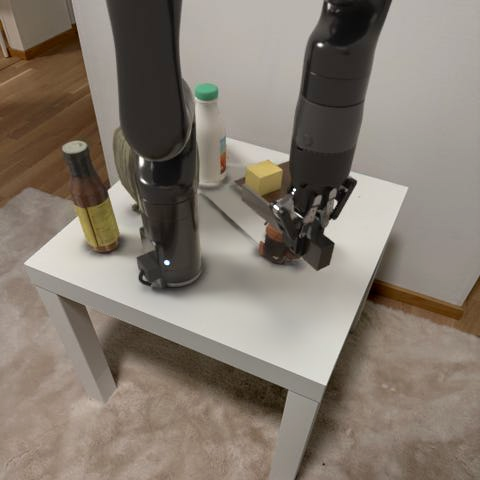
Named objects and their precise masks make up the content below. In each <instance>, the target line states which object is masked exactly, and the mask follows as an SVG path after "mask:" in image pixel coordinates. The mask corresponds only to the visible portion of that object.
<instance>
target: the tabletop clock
mask: <svg viewBox="0 0 480 480" xmlns="http://www.w3.org/2000/svg"><path fill="white" fill-rule="evenodd" d="M196 142H197V140H196ZM112 152H113V161H114V167H115V170H116V173H117V175H118V179H119V182H120V183H121V185H122V186H123V188H124V189H125V190H126V192H127V193H128V194H129V195H130V197H131V198H132V199H133V201H135V203H133V204H132V205H131V210H132V211H133V212H138V211H140V205H139V200H138V194H137V188H136V183H135V152H134V151H133V150H132V148H131V147H130V146H129V145H128V143H127V141H126V140H125V138H124V136H123V133H122V130H121V127H120V125H119V126H118V127H116V128H115V129H113V134H112ZM199 168H200V159H199V151H198V144H197V191H199V187H200V186H199V185H200V182H199Z"/></svg>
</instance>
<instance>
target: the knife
mask: <svg viewBox="0 0 480 480" xmlns="http://www.w3.org/2000/svg"><path fill="white" fill-rule="evenodd" d="M241 201H242V202H243V203H244V204H245V205H246V206H247V207H249V208H250V209H251V210H252V211H253V212H255V213H256V215H258V216H260V218H262V219H263V220H264V221H265V222H268V224H270V225H271V226H272V227H274V228H275V229H276V230H277V231H278V232H279V233H281V234H282V241H283V242H284V243H285V244H286V245H287V246H288V247H289V244H290V238H289V237H288V236H287V235H286V234H285V233H284V232H282V231H281V230H280V229H279V227H278V225H277V223H276V221H275V219H274V217H273V215H272V213H271V211H270V208H269V204H270V203H269V202H267V201H266V200H265V199H264V198H262V197H261V196H260V195H259V194H258V193H256V192H255V191H254V190H253V189H251V188H250V187H249V186H248V185H246V184H245V183H244V184H242V188H241ZM298 224H299V225H300V226H301V222H300V221H299V223H298ZM306 236H307V240H306V245H305V251H304V255H303V256H301V258H300V259H302V260H303V261H304V262H306V263H307V264H308V265H309V266H310V267H311V268H313V269H314V270H315V271H316V272H319V271H321V270H323V269H325V268H327V267H328V266H330V265H331V261H332V257H333V253H334V249H335V245H336V243H335V242H334V241H333V240H332V239H330V238H329V237H328V236H327V235H325V233H324V234H323V233H321V232H320V231H319V230H317V229H316V228H315V227H314V226H312V225H311V224H310V225H309V229H308V232H307V235H306Z"/></svg>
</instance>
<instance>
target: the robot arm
mask: <svg viewBox="0 0 480 480" xmlns="http://www.w3.org/2000/svg"><path fill="white" fill-rule="evenodd" d="M392 3H393V0H323V1H322V6H321V12H320V15H319V19H318V21H317V23H316V25H315V27H314V28H313V29H312V31H311V33H310V35H309V37H308V39H307V41H306V45H305V48H304V54H303V60H302V61H303V62H302V71H301V78H300V85H299V92H298V97H297V101H296V104H295V110H294V116H293V123H292V124H293V125H292V133H291V142H290V149H289V157H288V161H289V170H290V174H291V182H290V184H289V186H288V188H287V195H286V196H285V197H284V198H282V199H280V200H279V201H278V200H277V201H275V200H273V201H272V202H271V203H270V204H269V208H270V211H271V213H272V215H273V217H274V219H275V221H276V223H277V225H278V227H279V229H280V230H281V231H282V232H284V233H285V234H286V235H287V236H288V237H289V238H290V244H289V249H290V250H291V251H292V252H293V253H294V254H295V255H297V256H298V257H301V256H303V255H304V251H305V245H306V240H307V236H306V235H307V232H308V229H309V225H310V224H311V225H312V226H314V227H315V228H316V229H317V230H319V231H320V232H321V233H323V234H324V235H325V229H326V228H327V227H329V223H330V221H331V220H332V221H336V220H337V219H338V218H339V216H340V215H341V213H342V211H343V210H344V208H345V205H346V204H347V202H348V201H349V199H350V197H351V195H352V193H353V191H354V190H355V188H356V187H357V184H358V180H357V179H355V178H354V177H352V176H350V173H351V170H352V166H353V161H354V157H355V154H356V153H355V152H356V149H357V144H358V141H359V137H360V132H361V128H362V123H363V119H364V110H365V102H366V97H367V92H368V88H369V83H370V80H371V75H372V70H373V67H374V61H375V54H376V50H377V46H378V42H379V39H380V36H381V34H382V31H383V28H384V26H385V22H386V20H387V17H388V14H389V11H390V9H391V5H392ZM105 5H106V9H107V10H106V11H107V14H108V17H109V18H108V19H109V23H110V28H111V31H112V32H111V33H112V38H113V39H112V40H113V43H114V44H113V46H114V55H115V65H116V66H115V69H116V80H117V99H118V101H117V102H118V120H119V126H120V127H121V130H122V133H123V136H124V138H125V140H126V141H127V143H128V145H129V146H130V147H131V148H132V150H133V151H134V152H135V183H136V188H137V194H138V200H139V205H140V206H139V207H140V208H139V211H140V217H141V223H142V226H140V227H139V229H138V230H139V237H140V241H141V247H142V253H143V254H141V255H138V256H136V258H135V260H136V264H137V268H138V270H139V273H138V281H139V283H140V284H141V285H144V286H147V287H151V286H152V285H153V282H156V283H157V285H158V286H159V287H160V288H161V289H166V288H180V287H186V286H188V285H191V284H192V283H194V282H195V281H196V280H198V279H199V278H200V276H201V274H202V271H203V262H202V256H201V255H202V254H201V253H202V251H201V250H202V249H201V231H200V215H199V195H198V190H197V142H196V116H195V108H196V103H195V97H194V95H193V92H192V89H191V87H190V86H189V84H188V83H187V81H186V80H185V78H183V75H182V66H181V54H180V53H181V52H180V51H181V50H180V49H181V48H180V47H181V46H180V36H181V21H182V11H183V0H105ZM335 201H336V202H337V203H336V205H335ZM334 205H335V206H334ZM299 221H300V222H301V226H300V225H299V224H298V223H299ZM143 277H144V278H145V279H146V280H144V278H143Z"/></svg>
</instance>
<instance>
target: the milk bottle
mask: <svg viewBox="0 0 480 480" xmlns="http://www.w3.org/2000/svg"><path fill="white" fill-rule="evenodd" d="M194 101H196V103H195V116H196V140H197V144H198V151H199V159H200V168H199V183H203V184H215V183H218V182H220V181H222V180H224V179H225V178H226V176H227V131H226V124H225V120H224V118H223V116H222V114H221V111H220V107H219V106H218V105H219V104H218V101H219V87H218V85H216V84H215V83H207V82H203V83H198V84H196V86H195V87H194Z"/></svg>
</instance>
